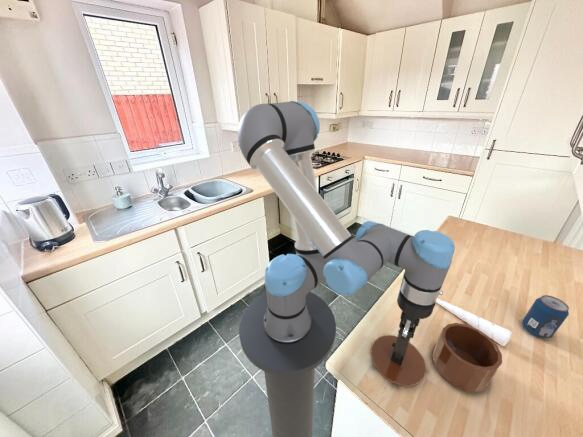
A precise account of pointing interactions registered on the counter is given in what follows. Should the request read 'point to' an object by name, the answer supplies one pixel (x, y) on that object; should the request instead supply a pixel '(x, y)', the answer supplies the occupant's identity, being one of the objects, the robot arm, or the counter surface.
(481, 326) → the unicorn horn
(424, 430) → the counter surface
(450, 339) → the crock
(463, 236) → the counter surface
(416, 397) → the counter surface
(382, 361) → the crock lid
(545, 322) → the soda can
